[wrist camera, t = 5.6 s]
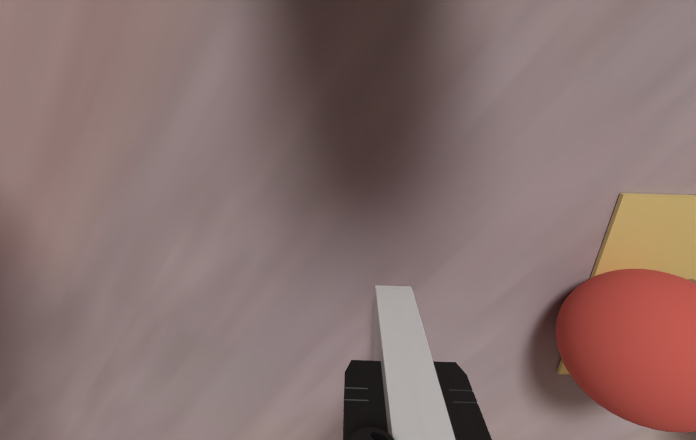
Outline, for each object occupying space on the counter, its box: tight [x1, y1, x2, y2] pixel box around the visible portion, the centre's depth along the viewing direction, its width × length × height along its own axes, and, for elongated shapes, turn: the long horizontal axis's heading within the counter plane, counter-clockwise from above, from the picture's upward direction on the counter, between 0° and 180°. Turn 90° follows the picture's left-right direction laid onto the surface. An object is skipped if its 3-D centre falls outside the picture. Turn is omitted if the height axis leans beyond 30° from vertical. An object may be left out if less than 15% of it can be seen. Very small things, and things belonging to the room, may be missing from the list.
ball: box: [556, 269, 696, 432], centre depth 14 cm, size 6×6×6 cm
